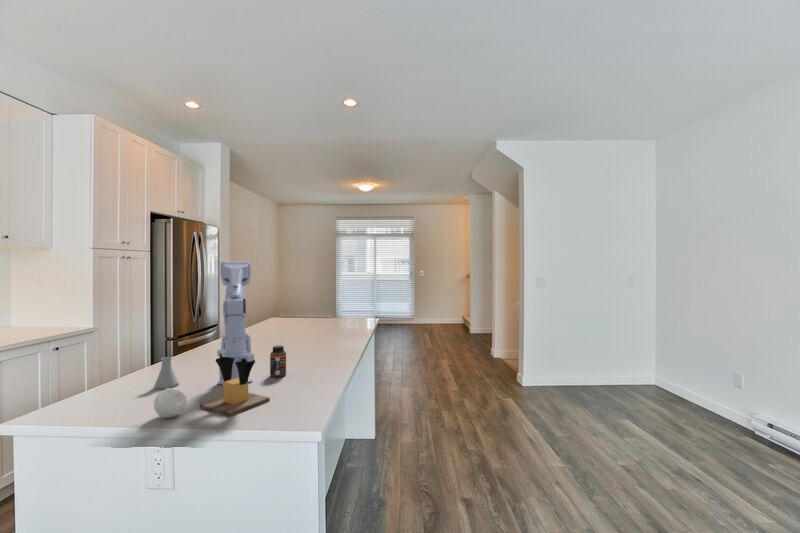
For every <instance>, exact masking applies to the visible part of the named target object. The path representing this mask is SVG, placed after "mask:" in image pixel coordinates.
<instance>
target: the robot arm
mask: <svg viewBox="0 0 800 533" xmlns="http://www.w3.org/2000/svg"><path fill="white" fill-rule="evenodd" d="M251 267H252V266H251V262H250V261H249V260H247V261H224V260H223V261H221V262H220V278H221V279H220V280H221V282H222V284H223V285H224V286H226V288H225V295H224V296H225V297H224V298H225V299H224V301H223V304H222V315H223V322H224V334H223V336H222V337H221V344H220V349H217V352H216V353H217V354H216V355H217V357H218V358H215V363H217V365H218V367H219V370H218V371H219V381H218V382H217V383H216V384H218V385H221V386H222V385H223V382H225V381H229V380H232V379H235V378H239V382H240V385H243V384H246V383H247V382H248V384H249V383H251V382H253V381H254V380H253V379H249V377H250V374H251V371H252V368H253V366H254V365H255V363H256V360H255V354H254V353H252V341H251V336H250V334H249V333H248V332H246V317H247V313H248V312H247V311H248V310H247V308H248V307H247V306H248V305H247V304H248V303H247V298H246V290H245V286H247V285H249V284H250V282H251V277H252V276H251V271H252V268H251Z"/></svg>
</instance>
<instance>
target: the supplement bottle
mask: <svg viewBox="0 0 800 533" xmlns="http://www.w3.org/2000/svg"><path fill="white" fill-rule="evenodd" d="M284 347H285V346H284V345H281V344H280V345H273V346H272V351H271V352H270V354H269V355H270V356H269V375H270V377H272V378H281V377H284V376H286V375H287V353H286V351H285V350H284Z"/></svg>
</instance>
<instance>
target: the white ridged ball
mask: <svg viewBox="0 0 800 533" xmlns="http://www.w3.org/2000/svg"><path fill="white" fill-rule="evenodd" d="M153 401H154V402H153V408H154V410H155V412H156V413H155V414H157V415H158V416H159V417H161V418H166V419H167V418H174V417H177V416H178V415H179V414H181V413H182V412H183V411H184V410H185V409H186V406H187V404H188V398H187V396H186V395H185V394H184V393H183V392H182V391H180V390H178V389H175V388H166V389H163V390H161V391H160V392H159V393H158V394H157V395H156V396H155V398H154V400H153Z"/></svg>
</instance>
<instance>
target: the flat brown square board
mask: <svg viewBox="0 0 800 533" xmlns="http://www.w3.org/2000/svg"><path fill="white" fill-rule="evenodd" d="M270 400H271V399H270V397H268V396H264V395H259V394H257V393H251V392H248V400H246V401H243V402H240V403H238V404H235V405H233V404H229V403H226V402H223V396H220V397H217V398H214V399H211V400H208V401H205V402H202V403H200V404H199V408H200V409H203V410H206V411H209V412H213V413H217V414H221V415H224V416H228V417H232V416H236V415H237V414H240V413H242V412H243V413H244V412H245V411H248V410H250V409H253V408H255V407H257V406H260V405H263V404H265V403H268V402H270Z"/></svg>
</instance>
